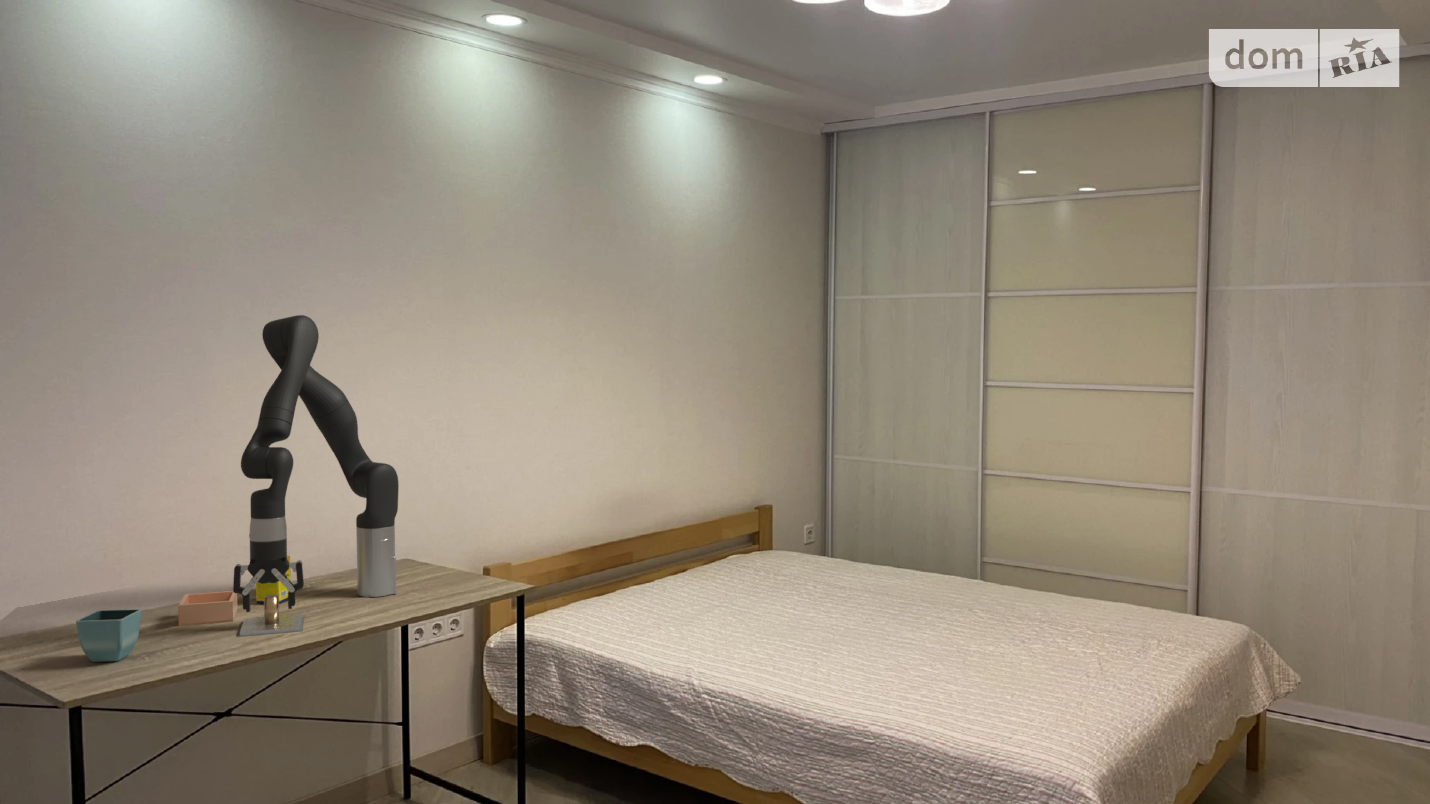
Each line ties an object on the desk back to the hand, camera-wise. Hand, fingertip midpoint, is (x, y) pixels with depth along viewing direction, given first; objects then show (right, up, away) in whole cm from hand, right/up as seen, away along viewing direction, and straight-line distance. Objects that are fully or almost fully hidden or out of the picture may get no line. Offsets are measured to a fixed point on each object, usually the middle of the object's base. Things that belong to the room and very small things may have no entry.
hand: (269, 609), depth 228 cm
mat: (+1, -4, 0) cm, 4 cm away
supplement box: (-9, -3, +24) cm, 26 cm away
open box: (-17, -4, +8) cm, 19 cm away
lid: (+1, -4, 0) cm, 4 cm away
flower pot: (-22, -6, -22) cm, 32 cm away
